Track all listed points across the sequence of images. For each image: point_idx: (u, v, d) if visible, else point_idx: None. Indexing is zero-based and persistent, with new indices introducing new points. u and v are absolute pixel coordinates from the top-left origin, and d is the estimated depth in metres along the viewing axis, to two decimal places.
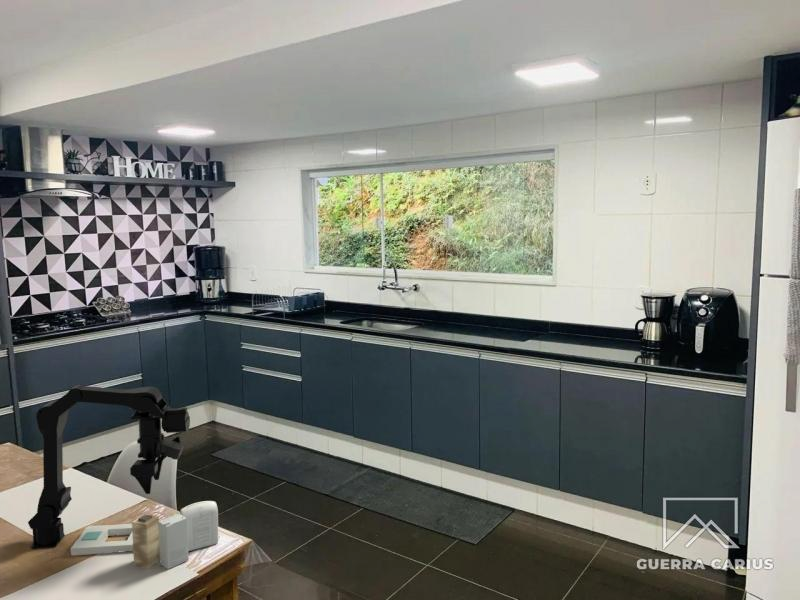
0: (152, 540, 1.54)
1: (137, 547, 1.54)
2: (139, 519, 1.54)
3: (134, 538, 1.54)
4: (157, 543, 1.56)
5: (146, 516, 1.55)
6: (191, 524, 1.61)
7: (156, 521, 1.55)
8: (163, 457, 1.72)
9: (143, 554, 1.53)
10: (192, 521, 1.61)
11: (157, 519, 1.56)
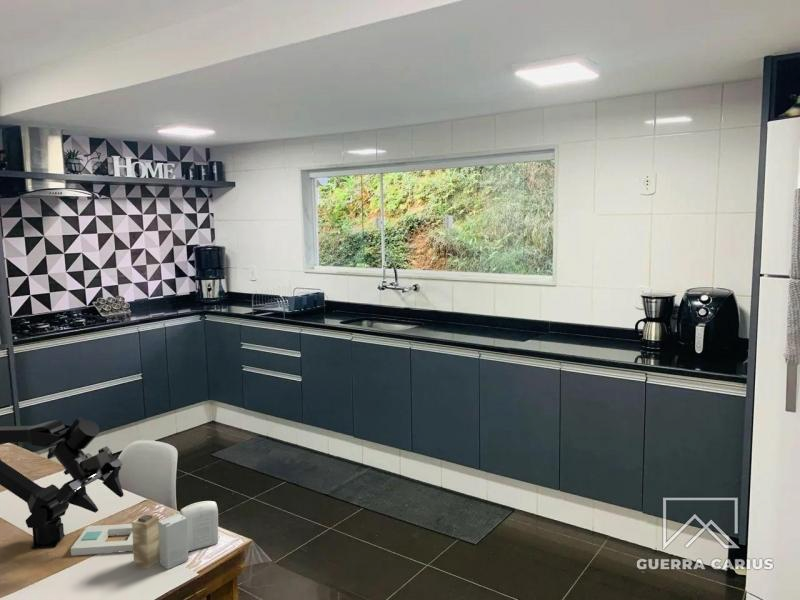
0: (152, 540, 1.54)
1: (137, 547, 1.54)
2: (139, 519, 1.54)
3: (134, 538, 1.54)
4: (157, 543, 1.56)
5: (146, 516, 1.55)
6: (191, 524, 1.61)
7: (156, 521, 1.55)
8: (112, 473, 1.64)
9: (143, 554, 1.53)
10: (192, 521, 1.61)
11: (157, 519, 1.56)
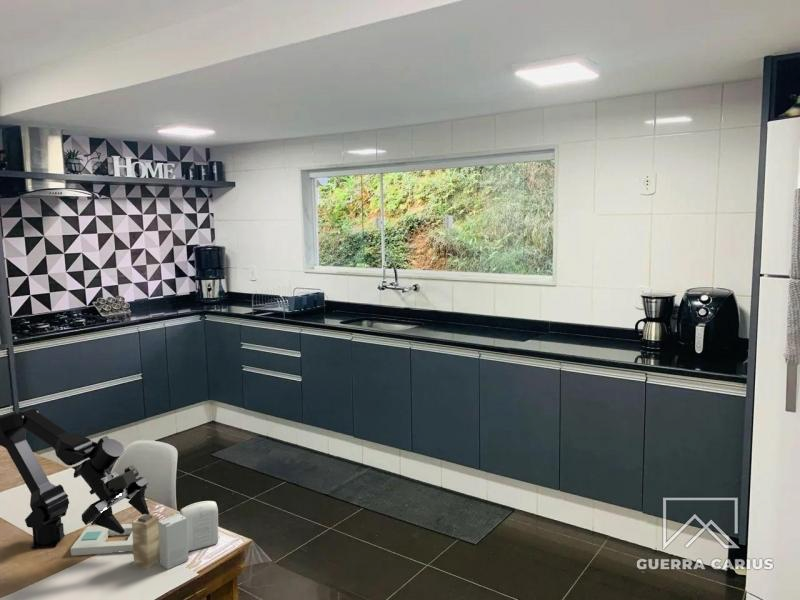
0: (152, 540, 1.54)
1: (137, 547, 1.54)
2: (139, 519, 1.54)
3: (134, 538, 1.54)
4: (157, 543, 1.56)
5: (146, 516, 1.55)
6: (191, 524, 1.61)
7: (156, 521, 1.55)
8: (138, 493, 1.61)
9: (143, 554, 1.53)
10: (192, 520, 1.61)
11: (157, 519, 1.56)
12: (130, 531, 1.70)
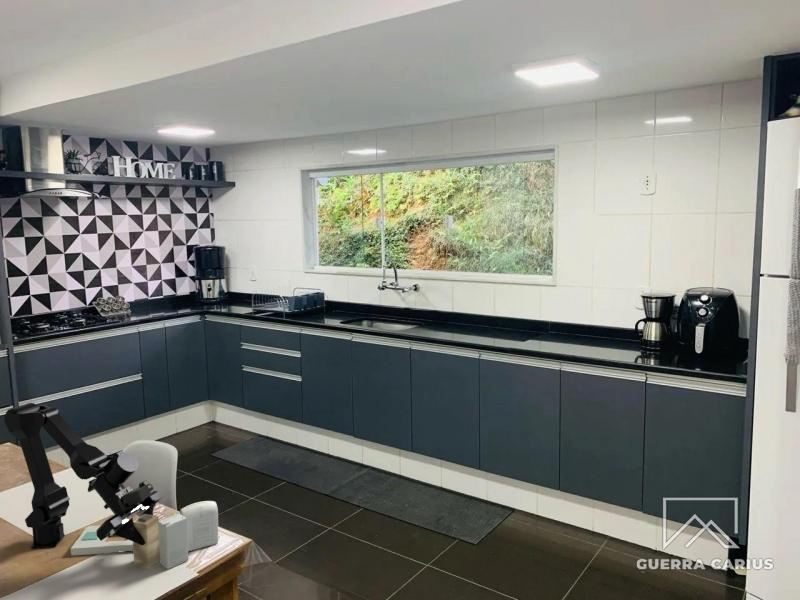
0: (152, 540, 1.54)
1: (137, 547, 1.54)
2: (139, 519, 1.54)
3: None
4: (157, 543, 1.56)
5: (146, 516, 1.55)
6: (191, 524, 1.61)
7: (156, 521, 1.55)
8: (147, 511, 1.58)
9: (143, 554, 1.53)
10: (192, 520, 1.61)
11: (157, 519, 1.56)
12: None
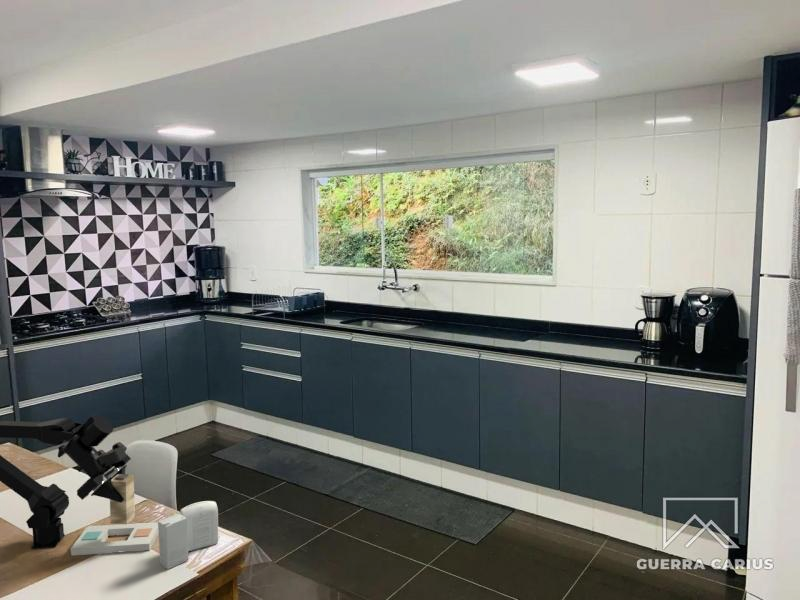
0: (129, 497, 1.63)
1: (115, 505, 1.61)
2: (116, 478, 1.61)
3: None
4: (133, 501, 1.65)
5: (122, 475, 1.63)
6: (191, 524, 1.61)
7: (132, 479, 1.64)
8: (120, 471, 1.65)
9: (121, 511, 1.61)
10: (192, 521, 1.61)
11: (133, 477, 1.64)
12: (130, 531, 1.70)
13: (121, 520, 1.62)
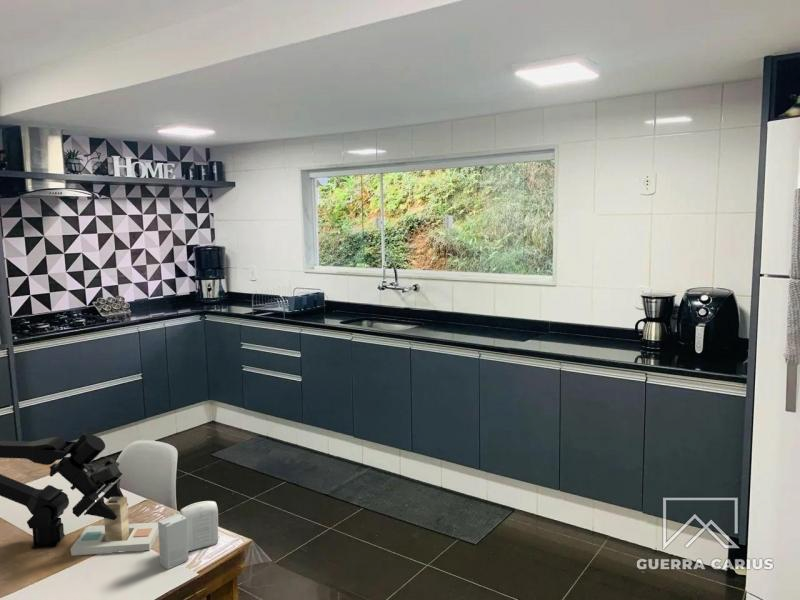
0: (124, 518, 1.65)
1: (110, 527, 1.63)
2: (110, 501, 1.64)
3: (106, 519, 1.63)
4: (127, 522, 1.67)
5: (115, 498, 1.65)
6: (191, 524, 1.61)
7: (125, 501, 1.66)
8: (115, 485, 1.69)
9: (117, 533, 1.64)
10: (192, 521, 1.61)
11: (126, 499, 1.67)
12: (130, 531, 1.70)
13: None
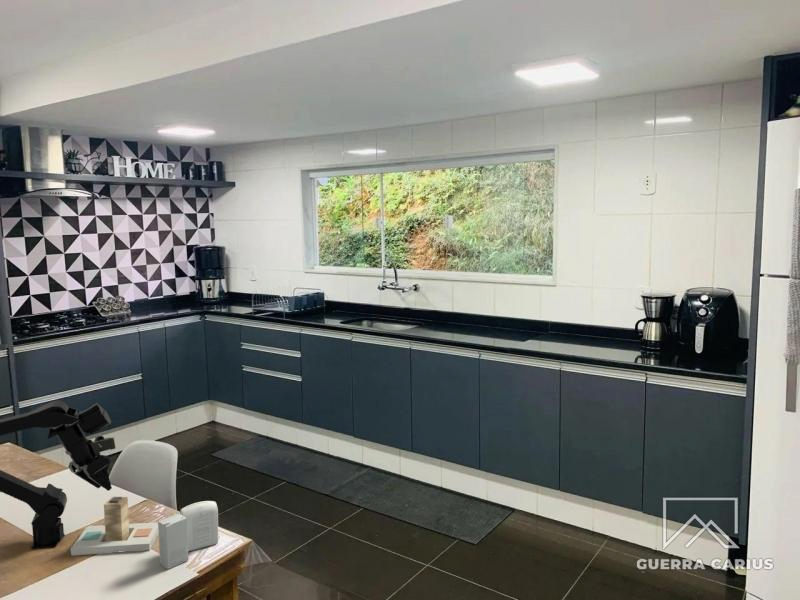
0: (124, 519, 1.65)
1: (110, 527, 1.63)
2: (110, 501, 1.64)
3: (106, 519, 1.63)
4: (127, 522, 1.67)
5: (116, 498, 1.65)
6: (191, 524, 1.61)
7: (126, 501, 1.66)
8: None
9: (117, 533, 1.64)
10: (192, 520, 1.61)
11: (126, 499, 1.67)
12: (130, 531, 1.70)
13: None
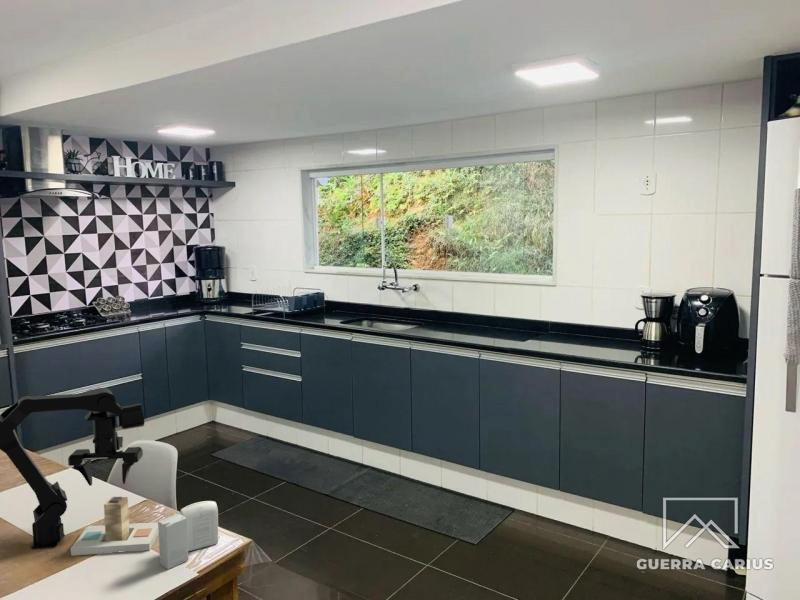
0: (124, 519, 1.65)
1: (110, 527, 1.63)
2: (110, 501, 1.64)
3: (106, 519, 1.63)
4: (127, 522, 1.67)
5: (116, 498, 1.65)
6: (191, 524, 1.61)
7: (126, 501, 1.66)
8: (90, 461, 1.73)
9: (117, 533, 1.64)
10: (192, 521, 1.61)
11: (127, 499, 1.67)
12: (130, 531, 1.70)
13: None
